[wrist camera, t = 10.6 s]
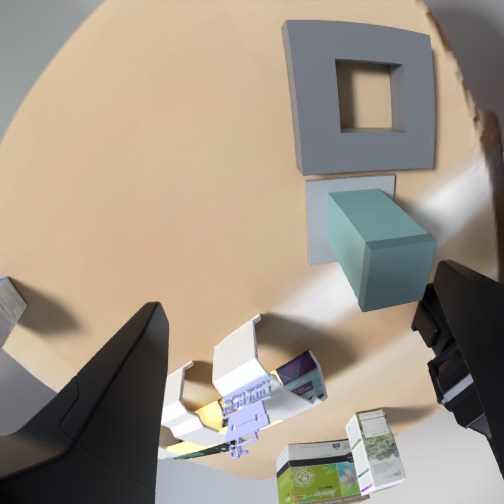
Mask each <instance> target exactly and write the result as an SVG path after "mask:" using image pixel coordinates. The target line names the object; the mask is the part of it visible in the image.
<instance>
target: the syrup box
mask: <svg viewBox="0 0 504 504" xmlns="http://www.w3.org/2000/svg"><path fill="white" fill-rule="evenodd" d="M346 432H347V435H348V439H349V443H350V446H351V451H352V455H353V459H354V464H355V468H356V473H357V478H358V482H359V487H360V491H361V495H362V496H363V495H367V494H371V493H374V492H378V491H381V490H384V489H387V488H391V487H393V486H396V485H398V484H399V483H401V482H402V481H403V480H405V479H406V476H405V472H404V469H403V465H402V462H401V459H400V456H399V452H398V449H397V446H396V443H395V440H394V437H393V434H392V431H391V428H390V425H389V422H388V419H387V416H386V413H385V410H384V408H381V409H376V410H371V411H366V412H360V413H355V414H354V415H353V417H352V418H351V419H350V421H349V422H348V423H347V425H346Z"/></svg>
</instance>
